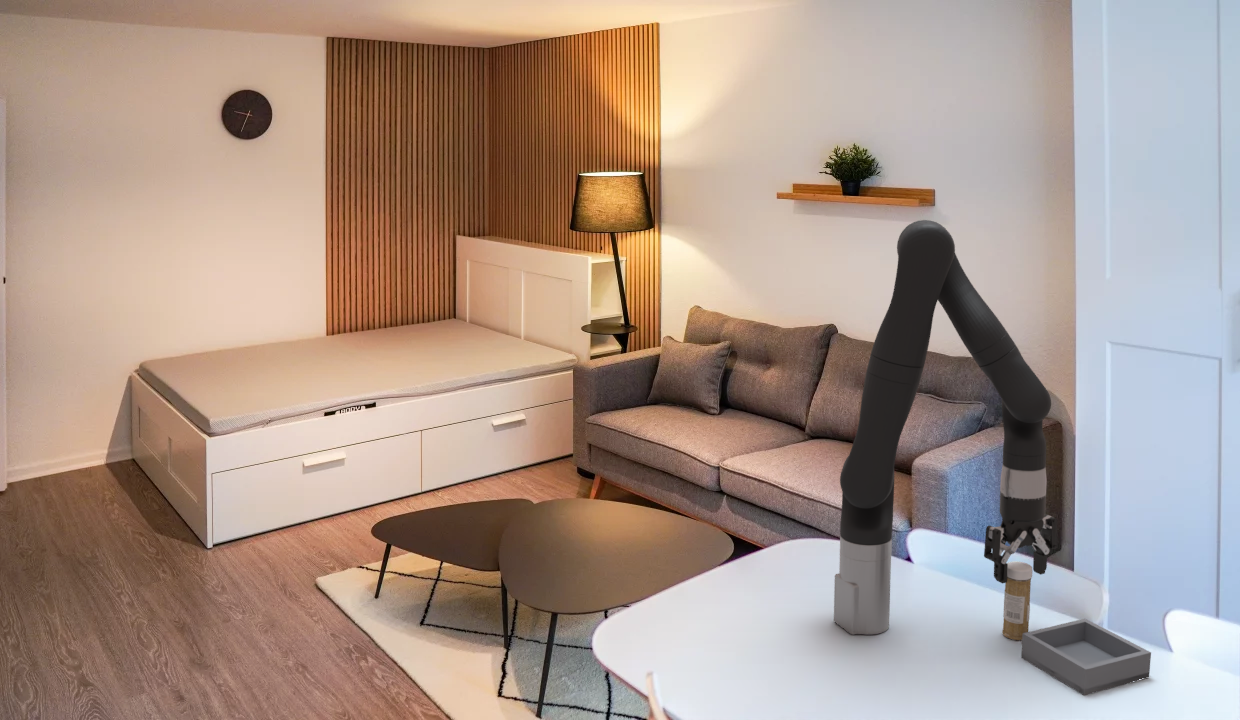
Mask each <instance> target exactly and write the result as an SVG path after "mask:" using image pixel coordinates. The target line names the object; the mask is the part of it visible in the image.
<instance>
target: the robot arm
mask: <svg viewBox="0 0 1240 720" xmlns="http://www.w3.org/2000/svg"><path fill="white" fill-rule="evenodd" d="M897 239H898V240H897V245H896V252H897V268H896V275H895V279H894V280H895V281H894V286H893V287H894V288H893V291H892V296H891V301H890V302H889V307H888V309H887V310H886V313H885V315H884V318H883V319H882V322H881V324H880V327H879V329H878V331H877V333H876V336H875V339H874V343H873V345H872V349H871V353H870V355H869V359H868V364H867V366H866V367H867V368H866V372H865V376H864V377H865V378H864V383H863V389H862V395H861V402H860V403H861V404H860V411H859V412H860V413H859V419H858V426H857V430H856V434H855V438H854V440H853V444H852V446H851V449H850V452H849V455H848V456H847V457H846V459H844V460H845V461H844V462H843V466H842V469H841V472H840V477H839V482H840V483H839V485H840V489H841V492H842V495H841V497H842V498H841V499H842V500H841V503H842V504H841V513H840V521H839V522H840V525H839V531H840V532H839V535H840V536H839V537H840V538H839V567H838V568H839V572H838V573H836V574H835V575H834V592H833V593H834V595H833V596H834V598H833V622H834V621H835V622H836V623H837V625H838V624H839V625H840V626H839V625H838V626H839V627H841V628H842V629H843V628H844V631H846V632H847V633H849V634H850V635H867V636H868V635H870V636H871V635H877V634H881V633H884V632H886V631H887V630H888V629H889V628H890V616H891V615H890V611H891V610H890V609H891V608H890V607H891V605H890V604H891V575H892V572H891V571H892V548H893V547H892V545H893V544H892V543H893V542H892V540H893V523H894V497H895V496H894V495H895V463H896V457H897V450H898V445H899V442H900V438H901V435H902V432H903V430H904V427H905V425H906V422H907V420H908V418H909V415H910V412H911V411H912V408H913V404H914V401H915V399H916V395H917V392H918V389H919V386H920V382H921V378H922V376H923V372H924V371H923V370H924V368H925V364H926V359H927V354H928V349H929V345H930V338H931V333H932V327H933V326H932V325H933V320H934V319H933V318H934V315H935V314H934V313H935V309H936V305H937V303H938V302H939V304H940V305H941V307H942V309H943V310H944V312H945V313H946V315H947V317H948V318H949V320H950V322H951V324H952V325H953V327H954V329H955V331H956V332H957V335H958V337H959V338H960V340H961V341H962V343H963V344H964V346H965V347H966V349H967V350H968V353H969V354H970V355H971V357H972V358H973V360H974V361H975V362H976V364H977V365H978V367H979V368H980V370H981V371H982V372H983V373H984V375H985V376H986V378H988V379H989V380H990V381H991V384H992V385H993V387H994V388H995V390H996V392H997V393H998V395H999V397H1000V398H1001V412H1002V413H1001V414H1002V415H1001V416H1002V426H1003V444H1002V445H1003V446H1002V468H1001V472H1000V487H999V488H1000V489H999V493H1000V494H999V513H1000V516H1001V524H1000V525H999V526H991V525H987V526H986V527H985V541H984V548H983V549H984V552H983V557H984V558H985V559H987V560H989V561H991V562H992V563H993V578H994V579H995V581H996V582H998V583H1000V584H1005V583H1006V582H1007V568H1008V564H1007V563H1008V561H1009V559H1010V557H1011V556H1012V555H1014V554H1015V553H1016V551H1017V550H1018V549H1020V548H1023V547H1025V546H1027V547H1030V546H1032V548H1033V549H1034V550H1035V551H1033V565H1032V571H1033V572H1034V573H1036V574H1038V575H1045V574H1046V570H1047V568H1048V567H1047V566H1048V555H1049V553H1050V551H1051V550H1057V548H1058V519H1057V518H1056V517H1054V516H1051V515H1049V514H1046V506H1047V505H1046V504H1047V503H1046V501H1047V483H1048V482H1047V471H1046V470H1047V468H1046V466H1047V465H1046V464H1047V462H1046V461H1047V441H1046V438H1045V434H1044V431H1043V422H1044V421H1043V420H1044V419H1045V418H1046V417H1047V416H1048V415H1049V413H1050V411H1051V408H1052V399H1051V396H1050V393H1049V391H1048V389H1046V386H1045V385H1044V384H1043V383H1042V381H1041V380H1040V379H1039V377H1038V376H1037V375H1036V373H1035V372H1034V370H1032V368H1031V367H1030V365H1028V363H1027V362H1026V360H1025V359H1024V357H1023V356H1022V353H1021V351H1020V350H1019V348H1018V346H1017V345H1016V343H1015V341H1014V339H1013V338H1012V337H1011V336H1010V334H1009V333H1008V331H1007V330H1006V328H1005V327H1004V325H1003V324H1002V322H1001V321H1000V320H999V317H998V316H997V315H996V314H995V313H994V312H993V310H992V308H991V307H990V306H989V305H988V304H987V303H986V302H985V300H984V299H983V298H982V296H981V295H980V294H979V292H978V291H977V290H976V288H975V287H974V285H973V284H972V282H971V281H970V279H969V277H968V276H967V275H966V272H965V271H964V269H963V267H962V265H961V263H960V260H959V259H958V256H957V253H956V246H955V245H956V244H955V242H954V239H953V236H952V235H951V234H950V232H949V231H948V230H947V229H946V228H945V226H943V225H942V224H940V223H938V222H937V221H932V220H928V219H927V220H926V219H923V220H921V219H920V220H917V221H914V222H912V223H910V224H907V226H906V227H905V228H903V229H902V231H901V232H900V234H899V237H898V238H897ZM1006 543H1007V544H1008V545H1006ZM835 622H834V623H835ZM836 623H835V624H836Z"/></svg>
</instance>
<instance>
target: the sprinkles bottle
mask: <svg viewBox="0 0 1240 720" xmlns="http://www.w3.org/2000/svg"><path fill="white" fill-rule="evenodd" d="M1006 563H1007V564H1008V568H1007V582H1006V583H1004V596H1003V597H1004V599H1003V615H1002V616H1003V624H1002V625H1003V626H1002V630H1001V631H1002V635H1003V636H1004V637H1006V638H1007V639H1009V640H1015V641H1022V634H1023V633H1026V632H1029V625H1030V624H1029V623H1030V613H1031V604H1030V603H1031V584H1032V583H1031V582H1032V581H1031V580H1032V578H1033V565H1031V564H1029V563H1026V562H1023V561H1009V562H1008V561H1007V562H1006Z"/></svg>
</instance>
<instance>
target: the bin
mask: <svg viewBox="0 0 1240 720" xmlns="http://www.w3.org/2000/svg"><path fill="white" fill-rule="evenodd" d="M1151 656H1152V652H1151V651H1149V650H1147V649H1146V648H1143V647H1142V646H1140V645H1137V644H1136V643H1134V642H1132V641H1130V640H1129V639H1126V638H1124V637H1122V636H1120V635H1118V634H1116V633H1114V632H1112V631H1110V630H1108V629H1106V628H1104V627H1103V626H1100V625H1099V624H1097V623H1094V622H1093V621H1091V620H1089V619H1087V618H1082V619H1078V620H1073V621H1069V622H1065V623H1061V624H1056V625H1051V626H1049V627H1044V628H1040V629H1039V628H1038V629H1036V630H1032V631H1028V632H1026V633H1023V634H1022V640H1021V653H1020V657H1021V659H1023V660H1024V661H1026V662H1028V663H1030V664H1031V665H1033V666H1035V667H1036V668H1038V669H1040V670H1041V671H1042V672H1044V673H1046V674H1047V675H1049V676H1051V677H1053V678H1054V679H1056V680H1058V681H1059V682H1061V683H1063V684H1064V685H1065V686H1068V687H1070V688H1071V689H1073V690H1074V691H1076V692H1077V693H1080V694H1081V695H1082V696H1086V695H1091V694H1095V693H1098V692H1101V691H1106V690H1108V689H1112V688H1117V687H1120V686H1125V685H1127V683H1128V684H1130V682H1131V683H1134V682H1133V681H1135V682H1138V681H1137V680H1139V679H1142V678H1146V677H1149V678H1150V671H1151V658H1152V657H1151ZM1146 679H1147V678H1146ZM1142 680H1143V679H1142ZM1139 681H1140V680H1139Z"/></svg>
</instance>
